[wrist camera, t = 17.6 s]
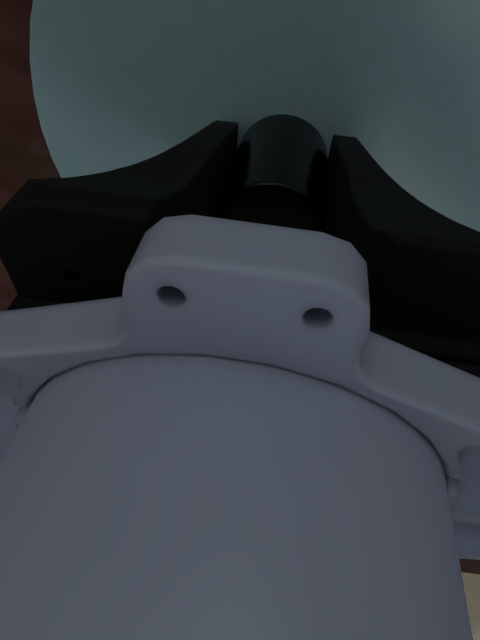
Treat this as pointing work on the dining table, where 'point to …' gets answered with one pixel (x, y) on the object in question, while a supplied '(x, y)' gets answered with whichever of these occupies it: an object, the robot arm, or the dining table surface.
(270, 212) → the pot lid
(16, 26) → the dining table surface
